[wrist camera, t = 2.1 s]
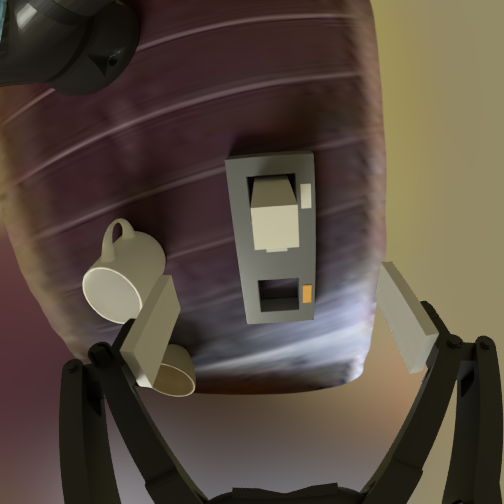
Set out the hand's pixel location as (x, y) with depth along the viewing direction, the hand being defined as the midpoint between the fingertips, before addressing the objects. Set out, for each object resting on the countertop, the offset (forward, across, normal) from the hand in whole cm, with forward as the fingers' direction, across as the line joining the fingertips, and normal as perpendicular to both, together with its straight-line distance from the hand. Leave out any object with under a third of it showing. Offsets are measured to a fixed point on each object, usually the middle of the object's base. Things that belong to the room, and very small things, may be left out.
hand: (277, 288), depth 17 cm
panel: (+21, 0, -7) cm, 22 cm away
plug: (+21, 0, 0) cm, 21 cm away
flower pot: (+21, -20, -29) cm, 41 cm away
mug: (+21, -20, -6) cm, 29 cm away
